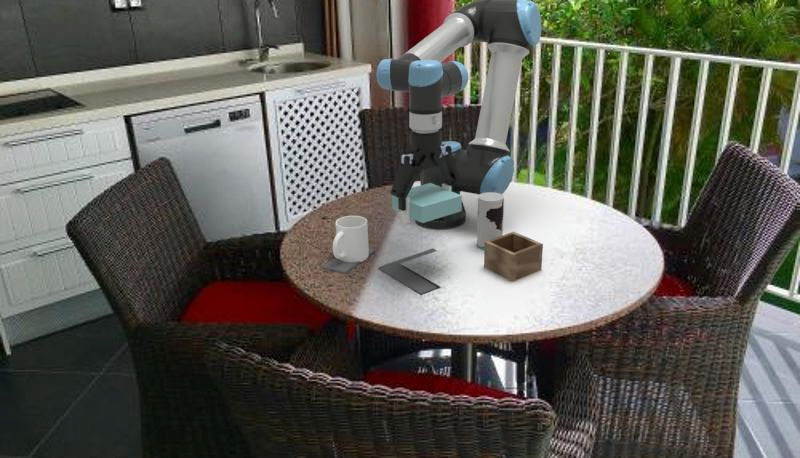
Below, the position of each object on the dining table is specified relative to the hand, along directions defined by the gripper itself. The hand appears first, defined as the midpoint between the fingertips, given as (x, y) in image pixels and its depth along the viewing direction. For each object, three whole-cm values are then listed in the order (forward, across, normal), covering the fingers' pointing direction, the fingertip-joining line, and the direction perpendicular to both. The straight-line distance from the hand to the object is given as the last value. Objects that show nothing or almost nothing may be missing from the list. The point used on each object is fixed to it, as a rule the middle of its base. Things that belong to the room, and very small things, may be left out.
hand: (426, 215), depth 166 cm
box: (+15, +16, -14) cm, 26 cm away
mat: (+15, 0, 0) cm, 15 cm away
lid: (0, 0, 0) cm, 0 cm away
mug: (+15, -12, +18) cm, 27 cm away
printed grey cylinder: (+15, +21, 0) cm, 26 cm away
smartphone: (+16, -12, +18) cm, 27 cm away
